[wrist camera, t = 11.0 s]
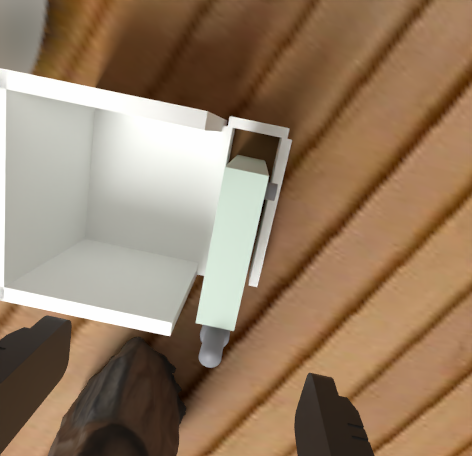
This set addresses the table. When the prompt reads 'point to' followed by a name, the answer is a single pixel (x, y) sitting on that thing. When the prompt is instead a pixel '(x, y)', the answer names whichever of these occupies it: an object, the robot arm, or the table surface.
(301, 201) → the table surface
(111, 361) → the owl
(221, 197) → the door
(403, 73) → the table surface
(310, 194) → the table surface
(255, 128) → the cabinet
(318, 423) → the robot arm
